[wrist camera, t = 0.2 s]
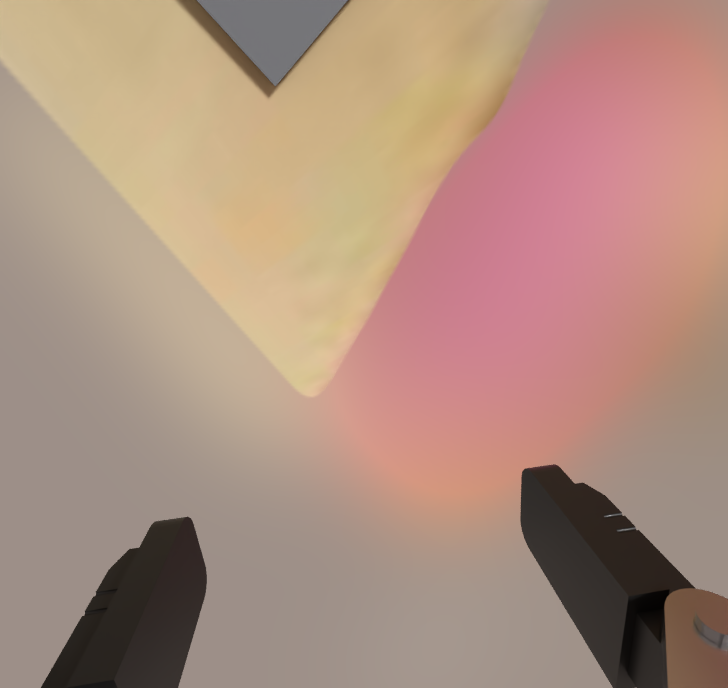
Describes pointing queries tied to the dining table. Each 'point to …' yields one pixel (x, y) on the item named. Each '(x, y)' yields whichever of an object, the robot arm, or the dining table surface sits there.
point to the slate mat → (273, 28)
